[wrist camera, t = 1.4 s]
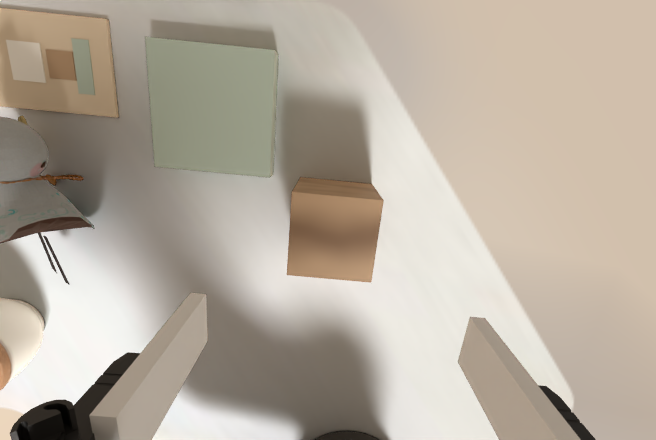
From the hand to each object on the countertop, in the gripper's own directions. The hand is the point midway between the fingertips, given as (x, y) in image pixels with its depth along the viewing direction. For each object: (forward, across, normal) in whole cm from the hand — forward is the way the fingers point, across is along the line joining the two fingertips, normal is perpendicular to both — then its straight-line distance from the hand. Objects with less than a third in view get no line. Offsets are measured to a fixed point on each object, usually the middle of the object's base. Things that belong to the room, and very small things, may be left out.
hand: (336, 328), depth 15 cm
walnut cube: (+21, 0, 0) cm, 21 cm away
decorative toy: (+21, +30, -1) cm, 37 cm away
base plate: (+21, +13, -10) cm, 27 cm away
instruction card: (+21, +30, -13) cm, 39 cm away
